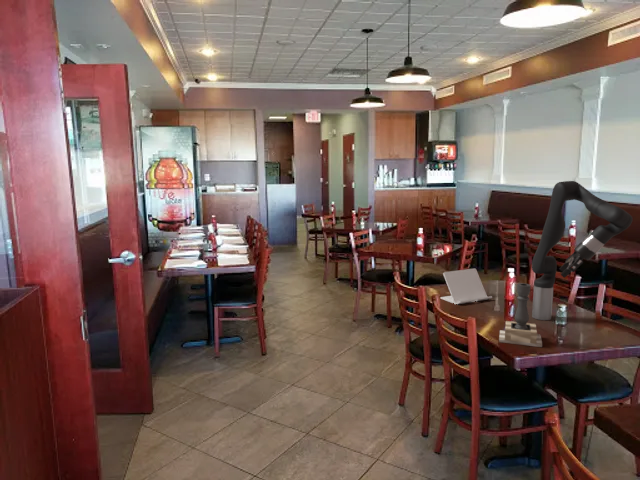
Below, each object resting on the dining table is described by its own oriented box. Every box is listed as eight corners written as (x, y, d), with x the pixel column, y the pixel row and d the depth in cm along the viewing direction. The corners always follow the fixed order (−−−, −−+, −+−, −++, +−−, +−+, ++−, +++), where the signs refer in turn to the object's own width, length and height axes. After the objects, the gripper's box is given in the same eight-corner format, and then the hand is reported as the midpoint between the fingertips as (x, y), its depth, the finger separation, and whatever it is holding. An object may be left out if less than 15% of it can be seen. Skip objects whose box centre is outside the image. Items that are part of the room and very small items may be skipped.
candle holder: (524, 334, 225) (527, 283, 221) (530, 339, 219) (533, 286, 215) (511, 334, 225) (514, 283, 221) (516, 339, 219) (520, 286, 215)
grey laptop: (439, 298, 291) (440, 271, 289) (471, 293, 302) (472, 267, 299) (459, 306, 275) (461, 277, 272) (492, 301, 285) (494, 273, 283)
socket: (499, 332, 232) (500, 320, 231) (540, 337, 225) (541, 324, 224) (498, 342, 219) (499, 329, 218) (542, 347, 213) (542, 333, 212)
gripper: (580, 237, 214) (553, 263, 221) (584, 245, 201) (555, 272, 208) (594, 248, 213) (567, 274, 219) (599, 256, 200) (570, 283, 207)
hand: (561, 273), depth 214 cm, fingers open, 8 cm apart
